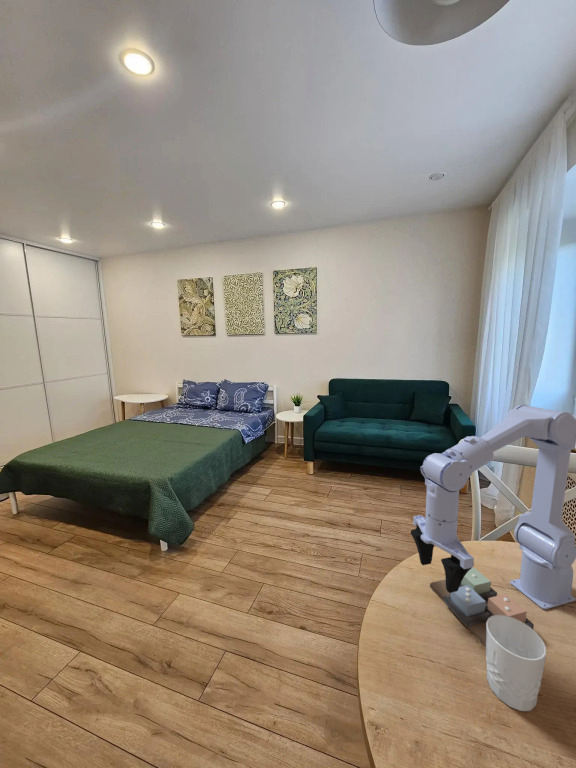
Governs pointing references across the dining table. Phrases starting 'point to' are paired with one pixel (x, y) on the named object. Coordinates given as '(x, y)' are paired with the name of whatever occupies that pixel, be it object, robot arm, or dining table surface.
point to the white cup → (514, 661)
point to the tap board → (472, 622)
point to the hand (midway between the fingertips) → (438, 576)
